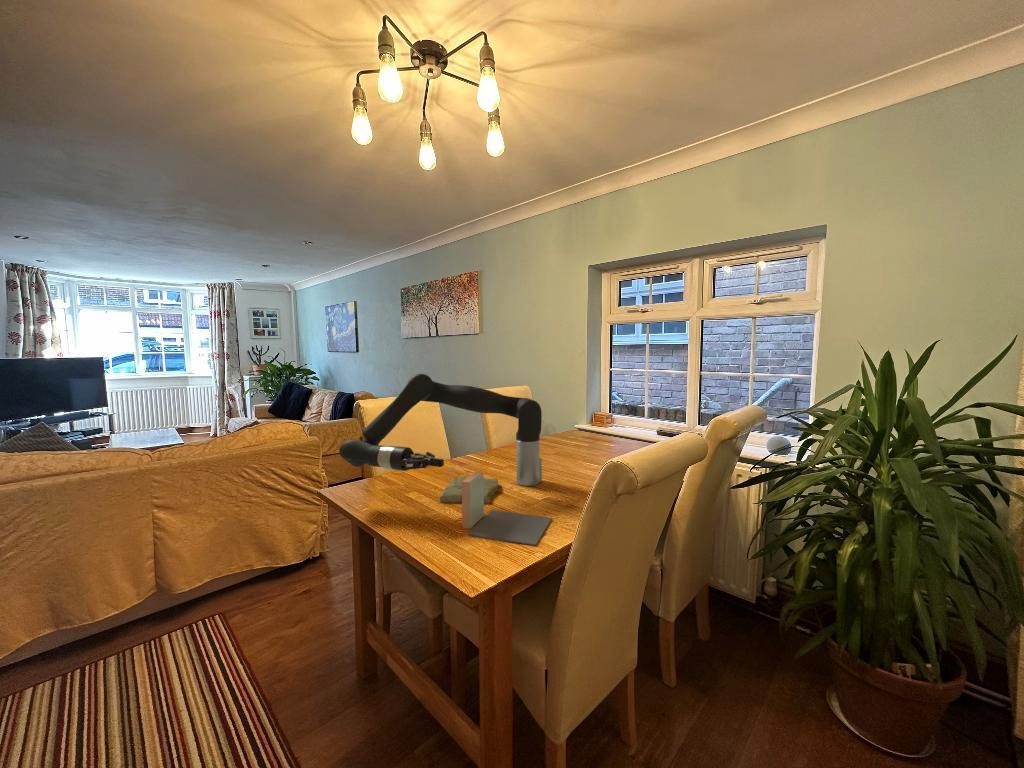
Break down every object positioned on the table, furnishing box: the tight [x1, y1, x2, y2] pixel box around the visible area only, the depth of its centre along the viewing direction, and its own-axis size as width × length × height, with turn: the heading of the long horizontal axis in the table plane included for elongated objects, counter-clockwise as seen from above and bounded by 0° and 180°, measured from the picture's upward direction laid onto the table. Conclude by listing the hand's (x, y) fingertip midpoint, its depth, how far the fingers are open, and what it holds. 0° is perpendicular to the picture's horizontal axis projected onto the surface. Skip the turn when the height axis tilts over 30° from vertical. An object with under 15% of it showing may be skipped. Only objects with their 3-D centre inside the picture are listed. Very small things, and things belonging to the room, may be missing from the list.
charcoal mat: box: [467, 509, 553, 547], centre depth 119 cm, size 20×18×1 cm
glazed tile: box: [461, 471, 485, 530], centre depth 123 cm, size 3×10×14 cm, turn 161°
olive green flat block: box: [439, 476, 500, 504], centre depth 148 cm, size 19×20×4 cm
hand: (442, 463), depth 125 cm, fingers closed
